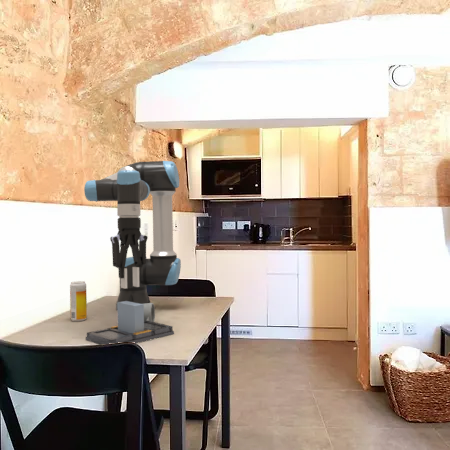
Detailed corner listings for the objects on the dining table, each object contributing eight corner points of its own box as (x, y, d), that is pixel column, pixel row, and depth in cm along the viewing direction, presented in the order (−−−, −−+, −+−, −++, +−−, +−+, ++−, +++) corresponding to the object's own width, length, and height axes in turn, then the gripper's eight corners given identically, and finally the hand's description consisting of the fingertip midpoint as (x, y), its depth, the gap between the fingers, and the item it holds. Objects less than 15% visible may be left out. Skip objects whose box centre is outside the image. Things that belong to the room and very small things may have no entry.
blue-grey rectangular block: (117, 331, 156) (117, 302, 156) (126, 330, 159) (126, 301, 159) (135, 336, 149) (134, 305, 149) (144, 334, 152) (143, 304, 152)
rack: (85, 339, 151) (85, 331, 151) (145, 327, 168) (145, 319, 168) (113, 348, 140) (112, 339, 140) (173, 334, 157) (173, 325, 157)
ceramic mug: (134, 321, 178) (134, 301, 178) (155, 321, 178) (155, 301, 178) (128, 328, 168) (127, 307, 168) (150, 327, 168) (150, 306, 168)
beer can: (89, 319, 183) (89, 281, 183) (80, 322, 178) (79, 283, 178) (77, 318, 185) (76, 280, 185) (67, 321, 180) (66, 282, 180)
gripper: (113, 216, 145) (114, 291, 145) (156, 216, 157) (157, 285, 157) (100, 217, 150) (101, 289, 150) (143, 217, 162) (144, 283, 163)
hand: (130, 287), depth 154 cm, fingers open, 4 cm apart
